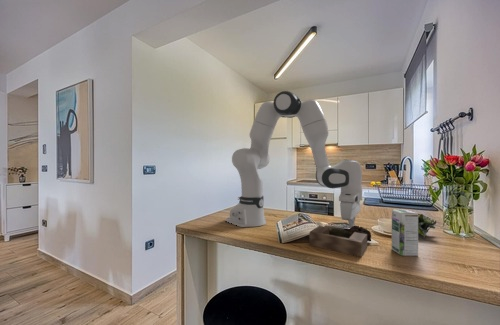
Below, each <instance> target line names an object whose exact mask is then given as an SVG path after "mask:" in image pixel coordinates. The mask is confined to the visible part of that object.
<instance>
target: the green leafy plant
mask: <svg viewBox="0 0 500 325" xmlns="http://www.w3.org/2000/svg"><path fill="white" fill-rule="evenodd" d="M435 225H437V220H435V219H433V218H432V219H431V217H430V216H426V215H425V214H423V213H418V234H419V235H422V237H423V238H422V240H425V237H426V235H427V233H429V231H430V229H434V230H435V229H436V226H435Z"/></svg>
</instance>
